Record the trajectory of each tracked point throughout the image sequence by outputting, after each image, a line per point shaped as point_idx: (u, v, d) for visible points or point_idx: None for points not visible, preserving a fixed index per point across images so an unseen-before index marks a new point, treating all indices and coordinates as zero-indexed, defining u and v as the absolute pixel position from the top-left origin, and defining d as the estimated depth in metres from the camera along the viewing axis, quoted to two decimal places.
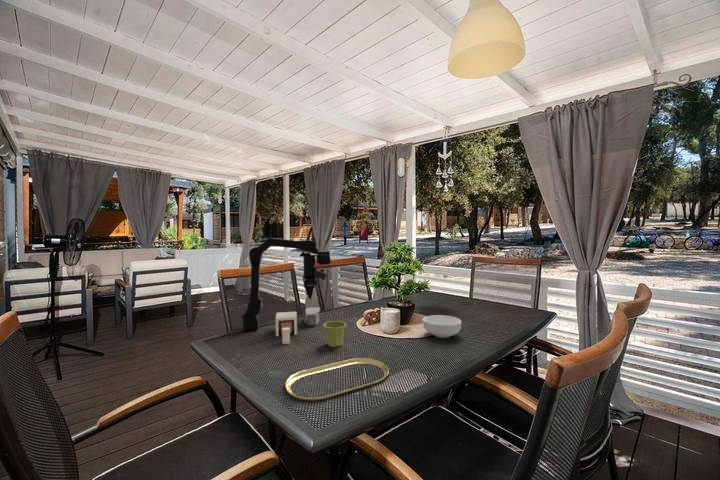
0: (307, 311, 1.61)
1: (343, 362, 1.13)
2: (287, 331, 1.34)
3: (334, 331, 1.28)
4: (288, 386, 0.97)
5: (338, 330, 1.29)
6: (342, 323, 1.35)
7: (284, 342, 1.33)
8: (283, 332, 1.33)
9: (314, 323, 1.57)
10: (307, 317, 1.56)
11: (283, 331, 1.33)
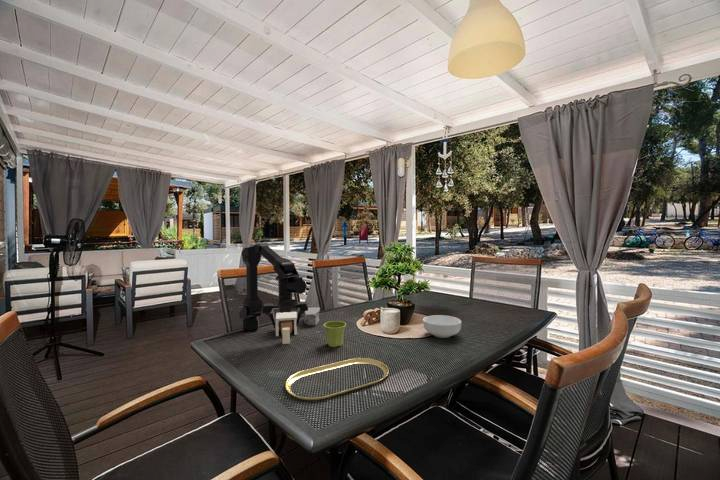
0: (307, 311, 1.61)
1: (343, 362, 1.13)
2: (287, 331, 1.34)
3: (334, 331, 1.28)
4: (288, 386, 0.97)
5: (338, 330, 1.29)
6: (342, 323, 1.35)
7: (284, 342, 1.33)
8: (283, 332, 1.33)
9: (313, 323, 1.57)
10: (306, 317, 1.56)
11: (283, 331, 1.33)
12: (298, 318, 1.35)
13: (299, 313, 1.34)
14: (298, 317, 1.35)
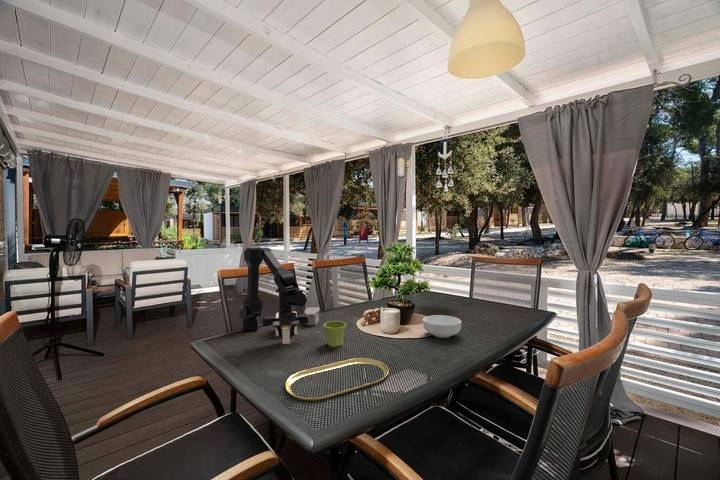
0: (306, 311, 1.61)
1: (343, 362, 1.13)
2: (287, 331, 1.34)
3: (334, 331, 1.28)
4: (288, 386, 0.97)
5: (338, 330, 1.29)
6: (342, 323, 1.35)
7: (284, 342, 1.33)
8: (283, 332, 1.33)
9: (313, 323, 1.57)
10: None
11: (283, 331, 1.33)
12: (291, 331, 1.34)
13: (292, 326, 1.33)
14: (291, 330, 1.34)
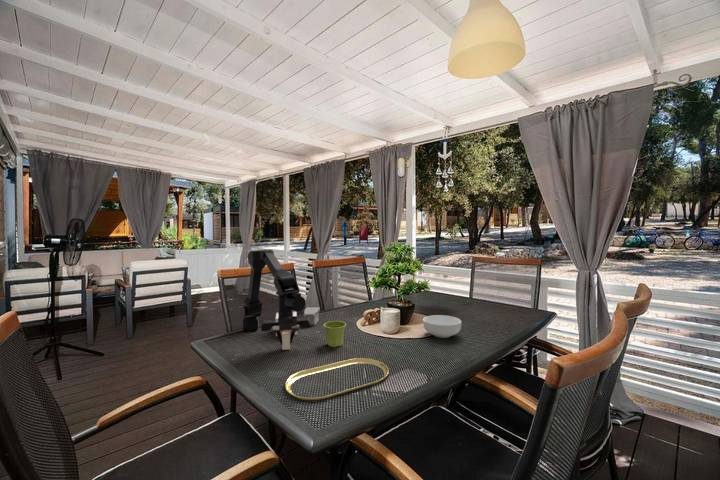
0: (306, 311, 1.62)
1: (343, 362, 1.13)
2: (287, 336, 1.27)
3: (334, 331, 1.28)
4: (288, 386, 0.97)
5: (338, 330, 1.29)
6: (342, 323, 1.35)
7: (284, 348, 1.26)
8: (283, 337, 1.26)
9: (312, 323, 1.57)
10: None
11: (283, 336, 1.26)
12: (292, 336, 1.27)
13: (293, 331, 1.26)
14: (292, 335, 1.27)
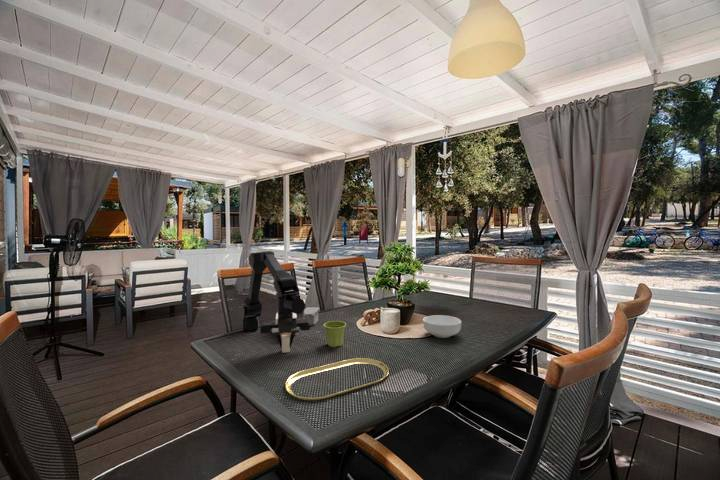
0: (305, 311, 1.62)
1: (343, 362, 1.13)
2: (286, 339, 1.24)
3: (334, 331, 1.28)
4: (288, 386, 0.97)
5: (338, 330, 1.29)
6: (342, 323, 1.35)
7: (284, 350, 1.24)
8: (282, 339, 1.24)
9: (312, 323, 1.57)
10: (305, 317, 1.56)
11: (282, 339, 1.24)
12: (291, 338, 1.25)
13: (292, 333, 1.23)
14: (291, 337, 1.24)
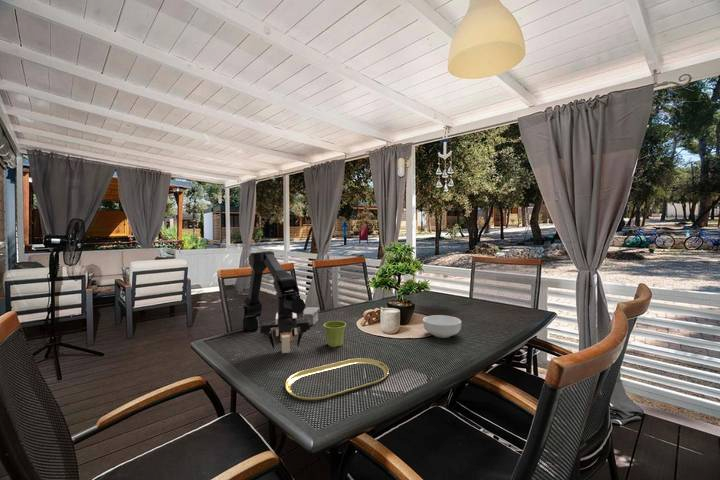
0: (305, 311, 1.62)
1: (343, 362, 1.13)
2: (286, 339, 1.24)
3: (334, 331, 1.28)
4: (288, 386, 0.97)
5: (338, 330, 1.29)
6: (342, 323, 1.35)
7: (284, 351, 1.24)
8: (282, 340, 1.24)
9: (311, 323, 1.57)
10: (304, 317, 1.57)
11: (282, 339, 1.24)
12: (299, 338, 1.25)
13: (300, 333, 1.24)
14: (299, 337, 1.25)
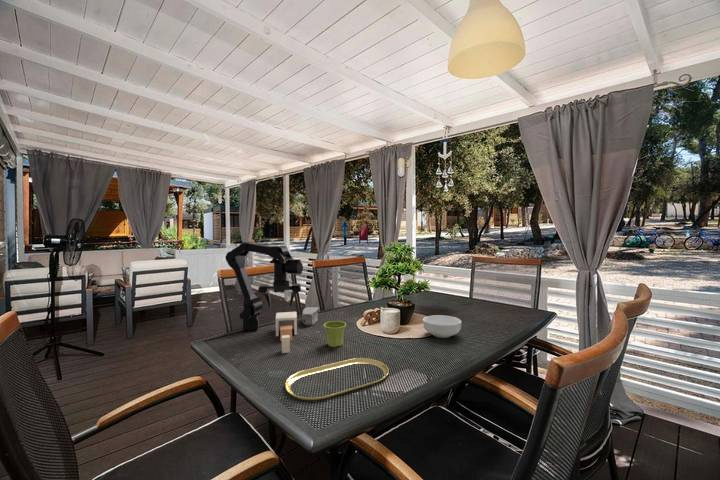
0: (305, 311, 1.62)
1: (343, 362, 1.13)
2: (286, 339, 1.24)
3: (334, 331, 1.28)
4: (288, 386, 0.97)
5: (338, 330, 1.29)
6: (342, 323, 1.35)
7: (284, 351, 1.24)
8: (282, 340, 1.24)
9: (310, 323, 1.57)
10: (303, 317, 1.57)
11: (282, 339, 1.24)
12: (291, 298, 1.46)
13: (292, 294, 1.45)
14: (291, 298, 1.46)
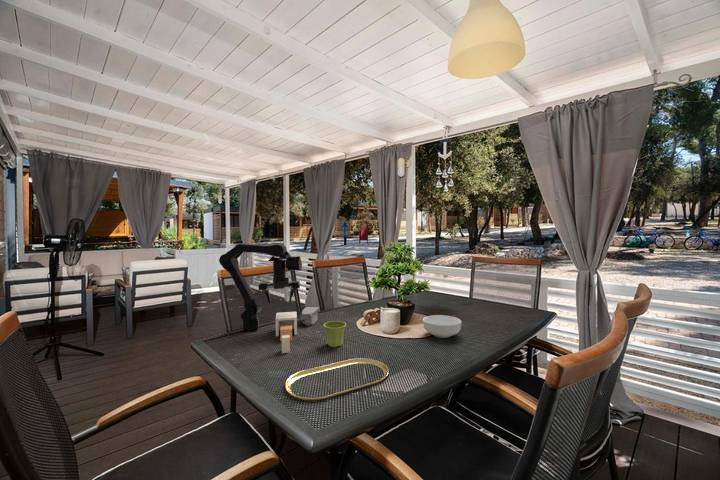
0: (304, 310, 1.62)
1: (343, 362, 1.13)
2: (286, 339, 1.24)
3: (334, 331, 1.28)
4: (288, 386, 0.97)
5: (338, 330, 1.29)
6: (342, 323, 1.35)
7: (284, 351, 1.24)
8: (282, 340, 1.24)
9: (310, 323, 1.58)
10: (303, 316, 1.57)
11: (282, 339, 1.24)
12: (291, 295, 1.50)
13: (292, 290, 1.49)
14: (291, 294, 1.50)
